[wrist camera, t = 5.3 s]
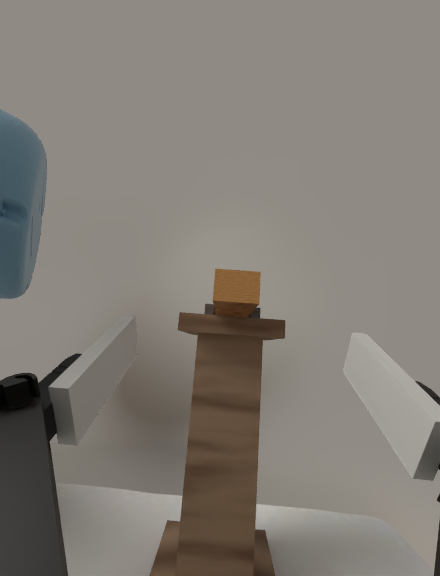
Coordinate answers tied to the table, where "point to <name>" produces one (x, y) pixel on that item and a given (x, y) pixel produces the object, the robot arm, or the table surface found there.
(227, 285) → the wood grain block
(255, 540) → the stand
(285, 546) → the table surface
